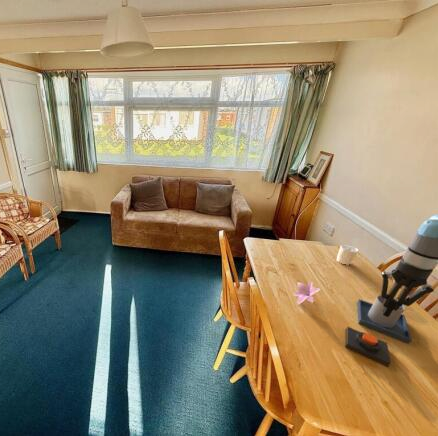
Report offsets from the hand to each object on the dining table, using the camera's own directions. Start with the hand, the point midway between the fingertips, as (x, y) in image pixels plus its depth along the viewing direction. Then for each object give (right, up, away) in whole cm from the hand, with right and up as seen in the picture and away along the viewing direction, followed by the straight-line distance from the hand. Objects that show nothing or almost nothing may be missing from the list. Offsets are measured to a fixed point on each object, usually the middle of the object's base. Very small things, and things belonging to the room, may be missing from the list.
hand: (385, 313), depth 87 cm
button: (-7, -10, 0) cm, 12 cm away
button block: (-7, -13, +1) cm, 15 cm away
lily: (-15, -3, +24) cm, 28 cm away
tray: (+10, -8, +12) cm, 18 cm away
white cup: (+28, +10, +51) cm, 59 cm away
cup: (+10, -8, +12) cm, 18 cm away
